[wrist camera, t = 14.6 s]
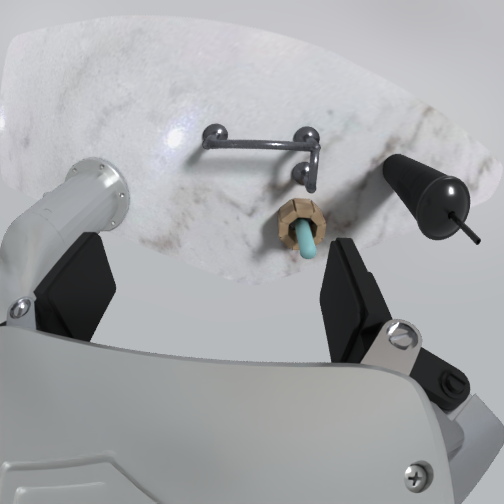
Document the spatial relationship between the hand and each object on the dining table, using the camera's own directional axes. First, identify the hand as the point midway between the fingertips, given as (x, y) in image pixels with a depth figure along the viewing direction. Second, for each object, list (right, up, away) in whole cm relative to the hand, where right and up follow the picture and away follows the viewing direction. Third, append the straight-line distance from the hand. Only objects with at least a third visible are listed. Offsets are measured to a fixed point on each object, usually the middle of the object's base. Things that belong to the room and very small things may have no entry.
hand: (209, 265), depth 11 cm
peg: (+9, +5, +30) cm, 32 cm away
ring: (+9, +5, +30) cm, 32 cm away
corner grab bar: (+3, +14, +25) cm, 28 cm away
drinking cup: (+23, +13, +25) cm, 36 cm away
